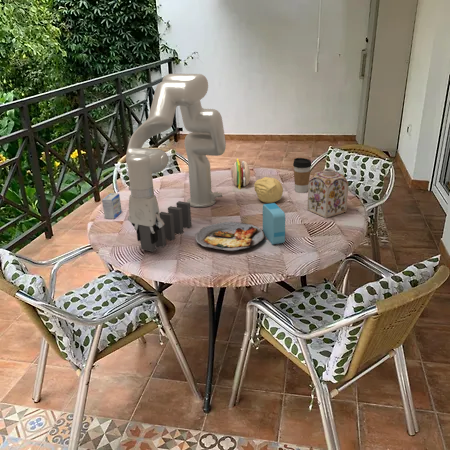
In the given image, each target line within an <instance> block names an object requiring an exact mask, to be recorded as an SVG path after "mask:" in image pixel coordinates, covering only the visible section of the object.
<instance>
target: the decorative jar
mask: <svg viewBox="0 0 450 450" xmlns="http://www.w3.org/2000/svg"><path fill="white" fill-rule="evenodd" d="M348 193H349V181H348V180H347V178H346V177H345V176H344V174H343V173H341V172H337V171H336V169H335V168H324V169H323V170H322V171H316V172H315V173H314V174H313V175H312V176H310V178H309V184H308V191H307V211H309V212H312V213H314V214H316V215H318V216H320V217H322V218H324V219H327V218H332V217H335V216H337V215H341V214H345V213H346V212H347V208H348ZM344 212H345V213H344Z"/></svg>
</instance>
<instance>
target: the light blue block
mask: <svg viewBox="0 0 450 450" xmlns="http://www.w3.org/2000/svg"><path fill="white" fill-rule="evenodd" d="M262 230H263V232H264V234H265V238H266V239H267V240H268V241H269V242H270V244H271V245H279V244H284V243H285V241H286V214H285V211H284V210H282V209H281V208H280V207H279V206H278V204H276V203H275V202H273V203H263V204H262Z"/></svg>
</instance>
